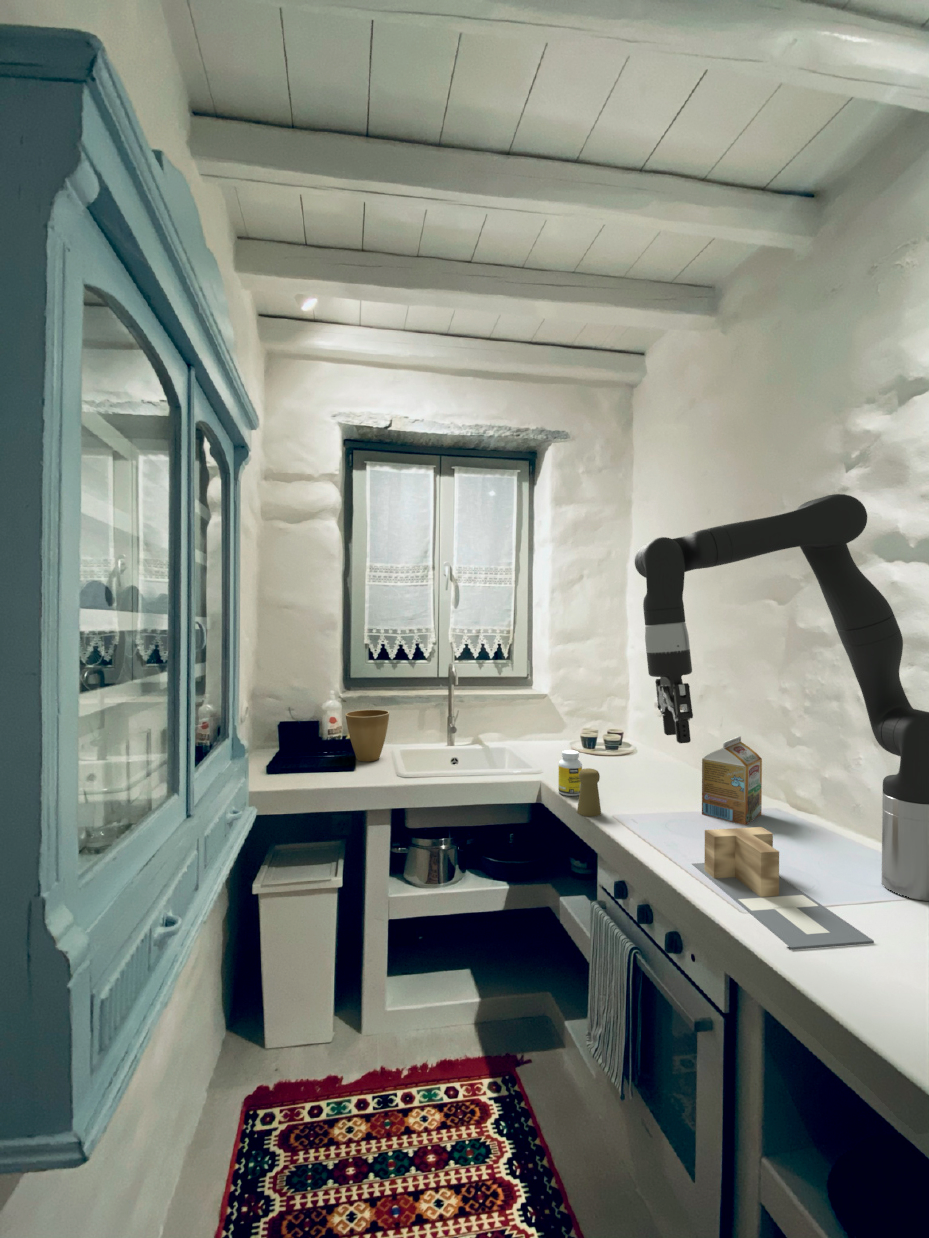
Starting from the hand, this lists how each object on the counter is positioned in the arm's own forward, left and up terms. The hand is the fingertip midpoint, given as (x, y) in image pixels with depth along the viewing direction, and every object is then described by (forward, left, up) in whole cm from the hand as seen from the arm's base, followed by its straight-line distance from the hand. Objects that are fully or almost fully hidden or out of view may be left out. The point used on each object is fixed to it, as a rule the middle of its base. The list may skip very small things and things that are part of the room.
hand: (677, 738), depth 108 cm
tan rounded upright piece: (+1, -44, -29) cm, 53 cm away
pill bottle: (+1, -60, -29) cm, 66 cm away
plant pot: (+59, -106, -29) cm, 124 cm away
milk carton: (-34, -38, -29) cm, 58 cm away
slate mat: (-16, +4, -28) cm, 33 cm away
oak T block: (-16, -2, -28) cm, 32 cm away
